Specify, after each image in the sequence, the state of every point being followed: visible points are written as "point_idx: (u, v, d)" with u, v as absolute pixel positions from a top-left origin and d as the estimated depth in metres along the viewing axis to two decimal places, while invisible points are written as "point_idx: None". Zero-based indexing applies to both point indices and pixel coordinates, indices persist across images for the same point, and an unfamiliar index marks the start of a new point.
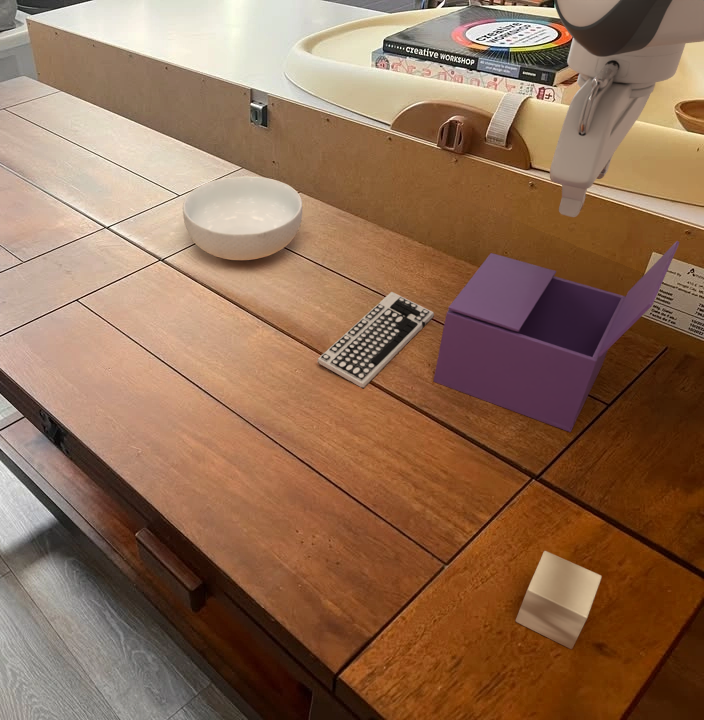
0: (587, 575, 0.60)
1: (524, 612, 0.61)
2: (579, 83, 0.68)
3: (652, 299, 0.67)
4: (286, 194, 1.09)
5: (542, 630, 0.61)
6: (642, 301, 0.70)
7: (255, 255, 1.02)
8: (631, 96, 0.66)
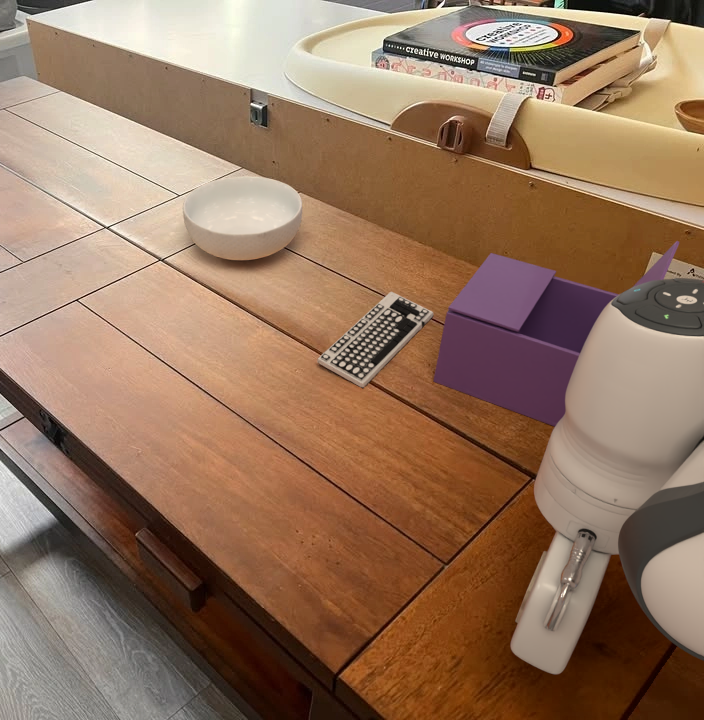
0: None
1: None
2: None
3: None
4: (286, 194, 1.09)
5: None
6: None
7: (255, 255, 1.02)
8: (612, 553, 0.52)
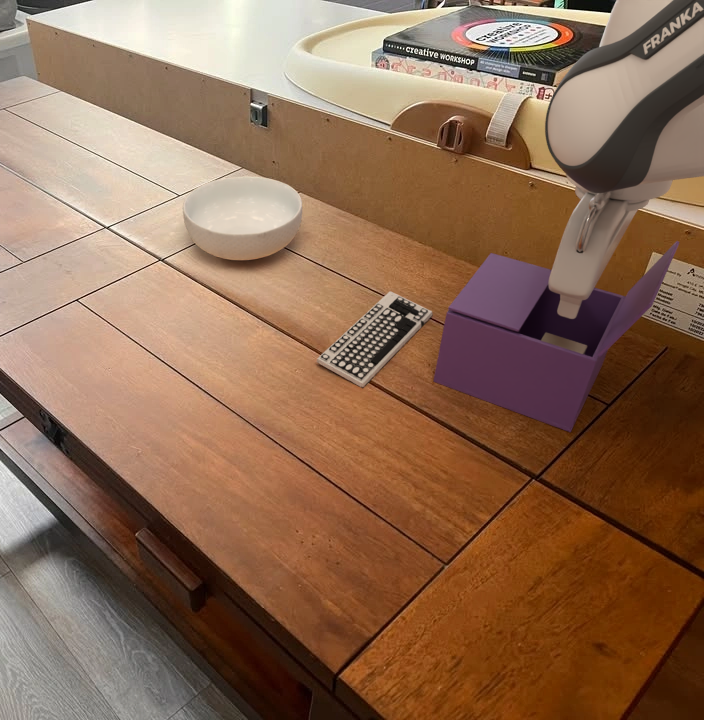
0: (576, 345, 0.82)
1: None
2: (577, 193, 0.70)
3: (652, 299, 0.67)
4: (286, 194, 1.09)
5: None
6: (642, 301, 0.70)
7: (255, 255, 1.02)
8: (627, 209, 0.68)
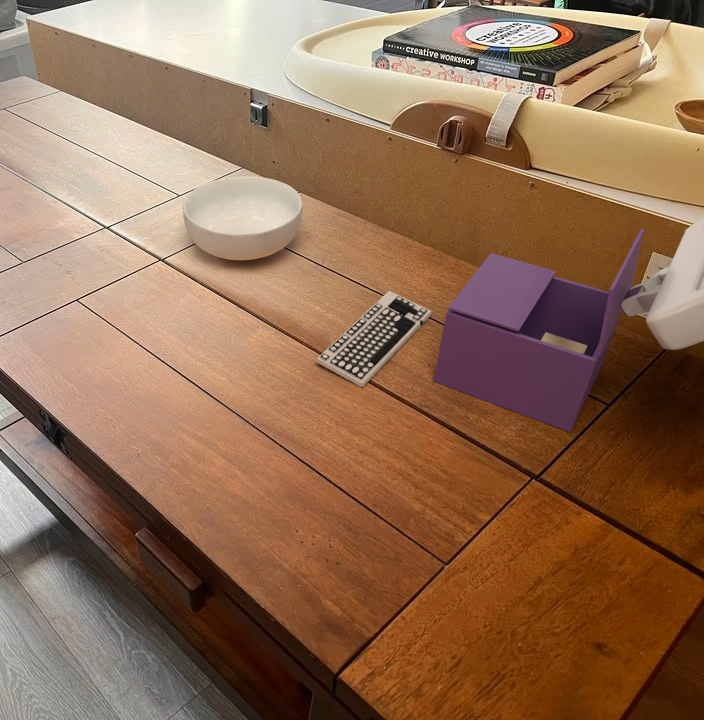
0: (576, 345, 0.82)
1: None
2: None
3: (613, 284, 0.69)
4: (286, 194, 1.09)
5: None
6: None
7: (255, 255, 1.02)
8: None
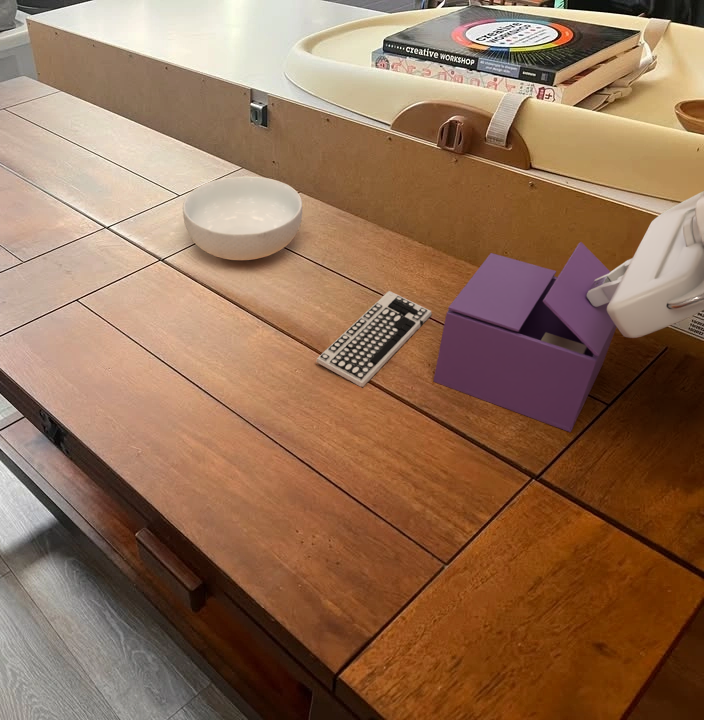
0: (576, 345, 0.82)
1: None
2: (686, 233, 0.67)
3: None
4: (286, 194, 1.09)
5: None
6: None
7: (255, 255, 1.02)
8: None
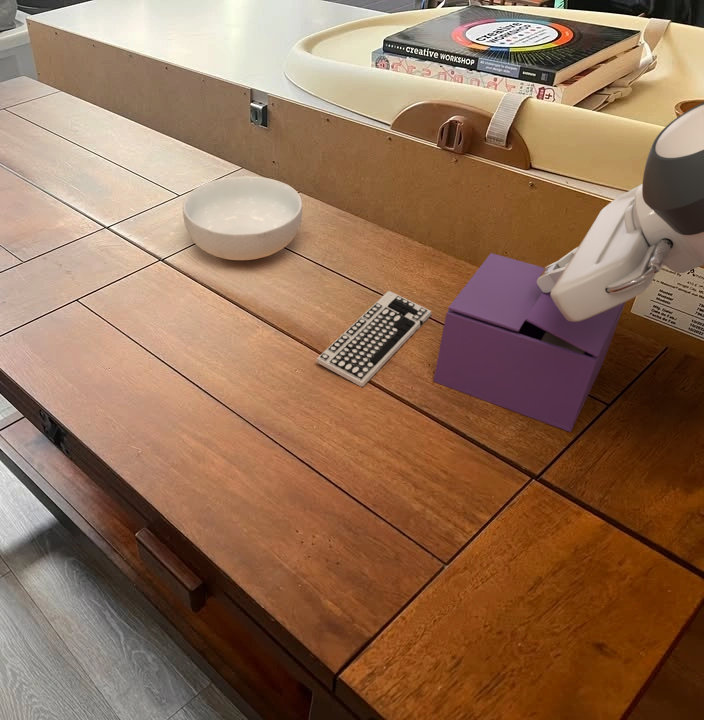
0: None
1: None
2: (627, 219, 0.69)
3: (528, 315, 0.75)
4: (286, 194, 1.09)
5: None
6: None
7: (255, 255, 1.02)
8: None
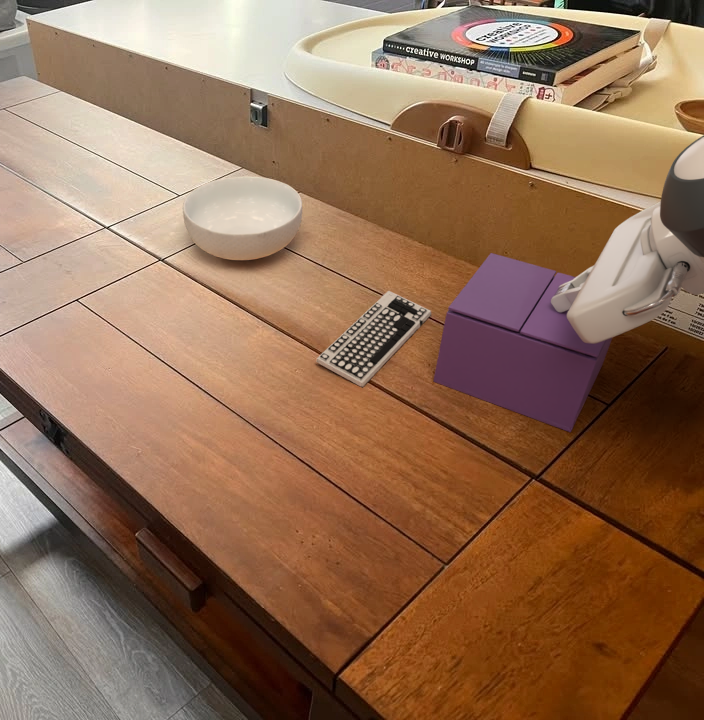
0: None
1: None
2: (643, 241, 0.69)
3: (522, 328, 0.76)
4: (286, 194, 1.09)
5: None
6: None
7: (255, 255, 1.02)
8: None
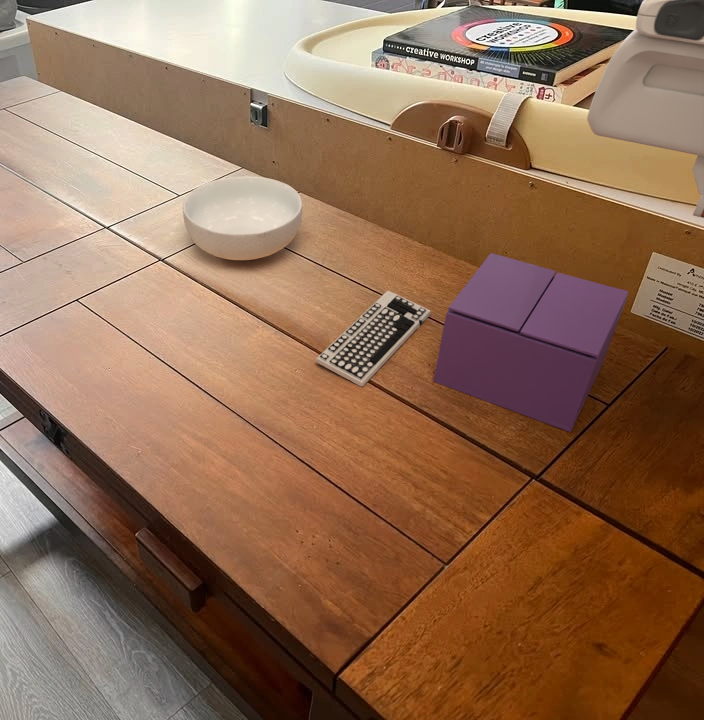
0: None
1: None
2: None
3: None
4: (286, 194, 1.09)
5: None
6: None
7: (255, 255, 1.02)
8: None
